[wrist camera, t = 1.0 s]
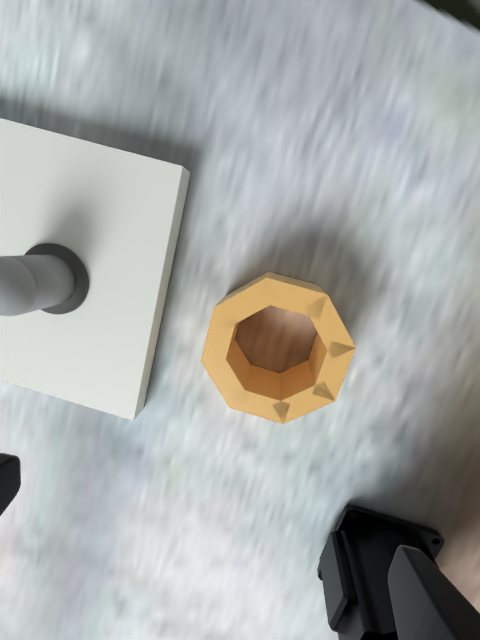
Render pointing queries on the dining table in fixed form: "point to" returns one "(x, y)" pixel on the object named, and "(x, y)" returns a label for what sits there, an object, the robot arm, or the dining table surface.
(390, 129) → the dining table surface
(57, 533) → the dining table surface
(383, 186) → the dining table surface
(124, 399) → the shaft board
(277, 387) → the collar
